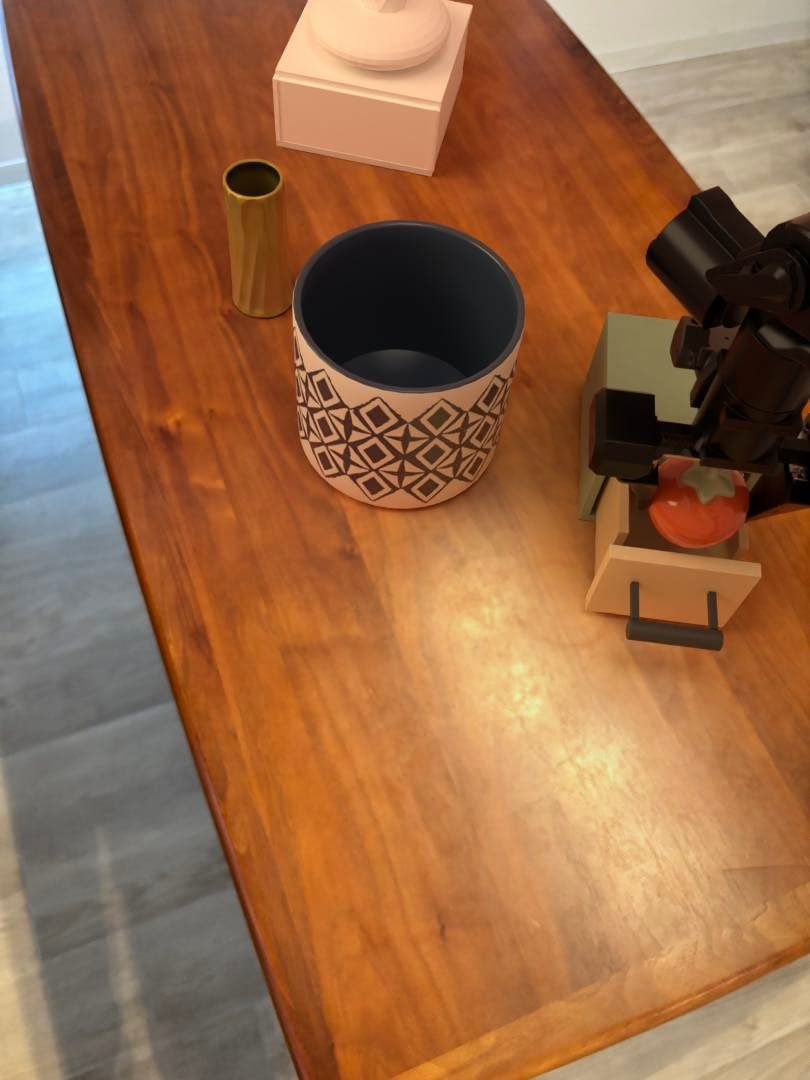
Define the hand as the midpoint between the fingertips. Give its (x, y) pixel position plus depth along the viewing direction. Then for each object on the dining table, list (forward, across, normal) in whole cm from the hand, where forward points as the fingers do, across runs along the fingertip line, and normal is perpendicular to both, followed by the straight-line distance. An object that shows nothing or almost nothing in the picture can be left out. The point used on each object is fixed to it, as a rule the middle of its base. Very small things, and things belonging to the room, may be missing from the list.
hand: (691, 511), depth 76 cm
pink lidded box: (+11, +31, -57) cm, 66 cm away
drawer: (+10, 0, 0) cm, 10 cm away
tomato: (+2, 0, 0) cm, 2 cm away
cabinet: (+11, 0, -13) cm, 17 cm away
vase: (+11, +38, -27) cm, 48 cm away
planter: (+11, +23, -13) cm, 29 cm away
